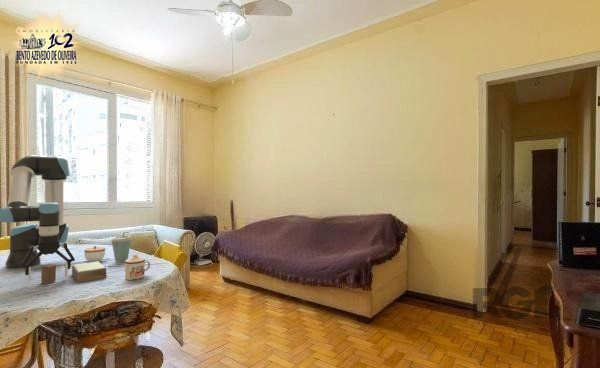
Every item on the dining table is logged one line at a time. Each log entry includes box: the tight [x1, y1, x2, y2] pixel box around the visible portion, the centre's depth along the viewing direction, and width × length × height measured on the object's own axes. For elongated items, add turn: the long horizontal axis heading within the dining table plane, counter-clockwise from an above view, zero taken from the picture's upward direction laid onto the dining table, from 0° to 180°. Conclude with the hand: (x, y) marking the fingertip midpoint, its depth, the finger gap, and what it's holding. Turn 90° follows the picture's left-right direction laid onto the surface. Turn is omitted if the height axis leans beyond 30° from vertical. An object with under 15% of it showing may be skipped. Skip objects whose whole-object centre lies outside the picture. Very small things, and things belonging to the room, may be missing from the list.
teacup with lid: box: [124, 254, 151, 281], centre depth 155 cm, size 12×9×12 cm
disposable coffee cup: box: [110, 235, 132, 263], centre depth 187 cm, size 11×11×15 cm
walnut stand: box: [71, 261, 107, 283], centre depth 157 cm, size 18×12×5 cm, turn 43°
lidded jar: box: [83, 245, 106, 263], centre depth 186 cm, size 11×11×9 cm
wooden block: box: [40, 264, 57, 284], centre depth 146 cm, size 4×4×8 cm
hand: (48, 278), depth 146 cm, fingers open, 13 cm apart
